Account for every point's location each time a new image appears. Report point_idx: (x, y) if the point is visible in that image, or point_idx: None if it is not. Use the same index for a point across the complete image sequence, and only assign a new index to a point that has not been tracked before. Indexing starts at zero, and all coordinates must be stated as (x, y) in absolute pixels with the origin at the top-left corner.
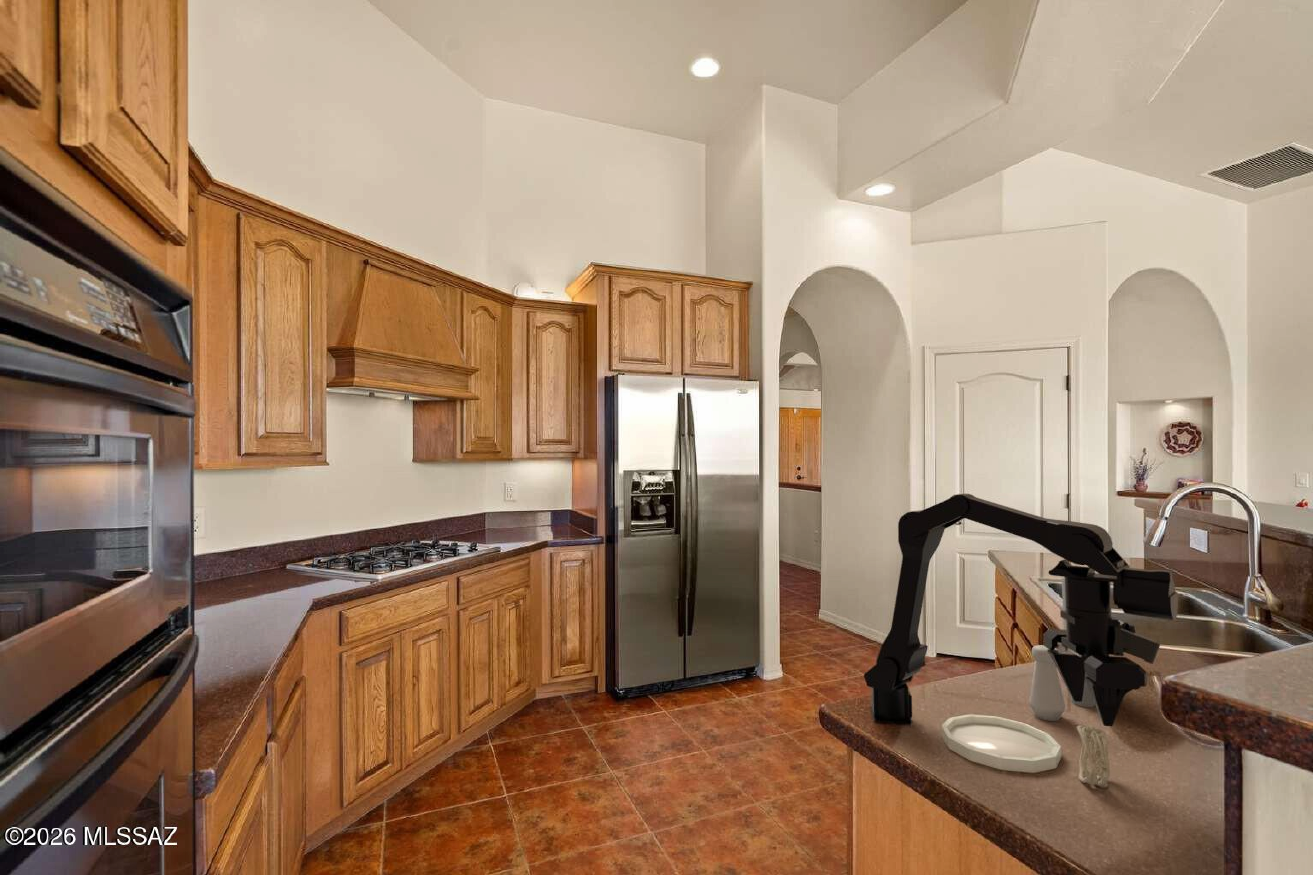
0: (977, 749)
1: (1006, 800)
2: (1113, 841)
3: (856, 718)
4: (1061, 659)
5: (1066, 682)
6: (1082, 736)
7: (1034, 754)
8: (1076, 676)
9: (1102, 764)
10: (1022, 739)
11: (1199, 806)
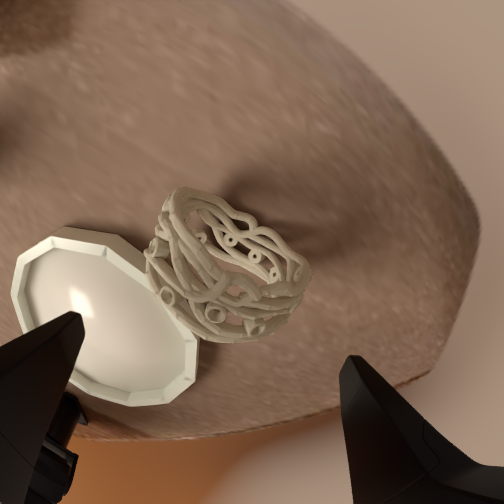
0: (166, 395)
1: (299, 393)
2: (418, 316)
3: (85, 430)
4: (14, 490)
5: (54, 407)
6: (251, 340)
7: (130, 295)
8: (23, 402)
9: (297, 280)
10: (67, 279)
11: (338, 63)
